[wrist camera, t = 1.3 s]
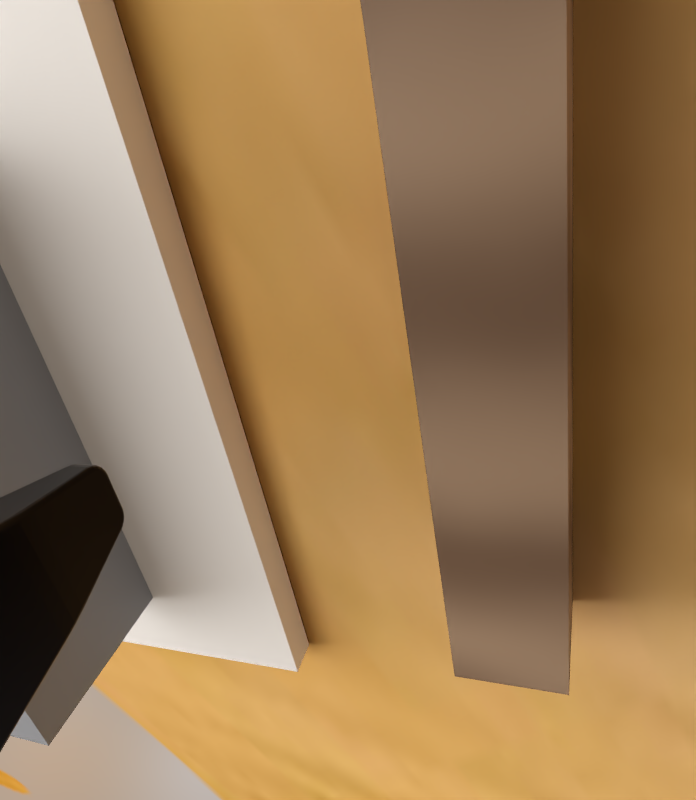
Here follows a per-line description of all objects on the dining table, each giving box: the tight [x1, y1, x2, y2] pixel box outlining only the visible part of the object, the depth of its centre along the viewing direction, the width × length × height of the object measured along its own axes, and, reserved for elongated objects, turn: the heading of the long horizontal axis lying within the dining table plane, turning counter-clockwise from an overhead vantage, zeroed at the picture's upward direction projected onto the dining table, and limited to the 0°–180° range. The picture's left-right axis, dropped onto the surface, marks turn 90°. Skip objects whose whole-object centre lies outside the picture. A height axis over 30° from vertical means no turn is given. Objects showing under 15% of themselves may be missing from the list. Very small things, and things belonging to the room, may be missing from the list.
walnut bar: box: [360, 0, 573, 695], centre depth 13 cm, size 22×3×4 cm, turn 10°
